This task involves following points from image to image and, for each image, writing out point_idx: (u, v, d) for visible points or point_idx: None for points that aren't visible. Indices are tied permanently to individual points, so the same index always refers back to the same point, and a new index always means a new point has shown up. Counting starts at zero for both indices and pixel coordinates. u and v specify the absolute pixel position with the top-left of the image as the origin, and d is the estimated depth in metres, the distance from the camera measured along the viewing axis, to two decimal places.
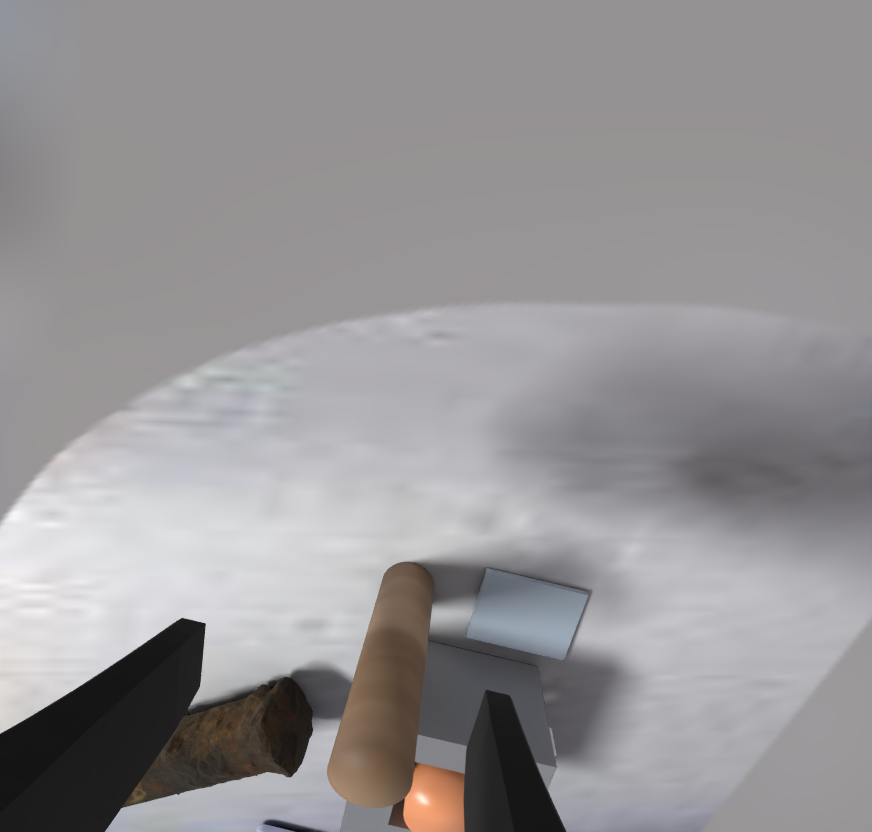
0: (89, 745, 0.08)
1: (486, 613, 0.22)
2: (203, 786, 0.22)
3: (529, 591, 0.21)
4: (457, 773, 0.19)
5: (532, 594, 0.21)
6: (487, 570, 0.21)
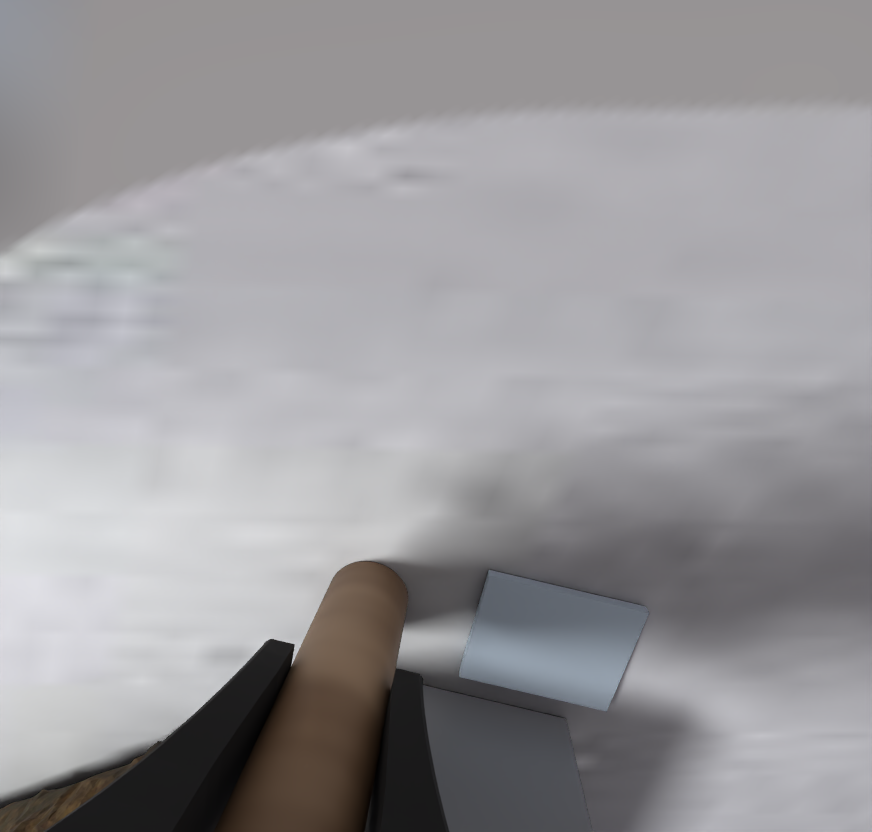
0: (215, 774, 0.08)
1: (489, 640, 0.14)
2: None
3: (556, 606, 0.13)
4: None
5: (560, 611, 0.14)
6: (490, 574, 0.13)
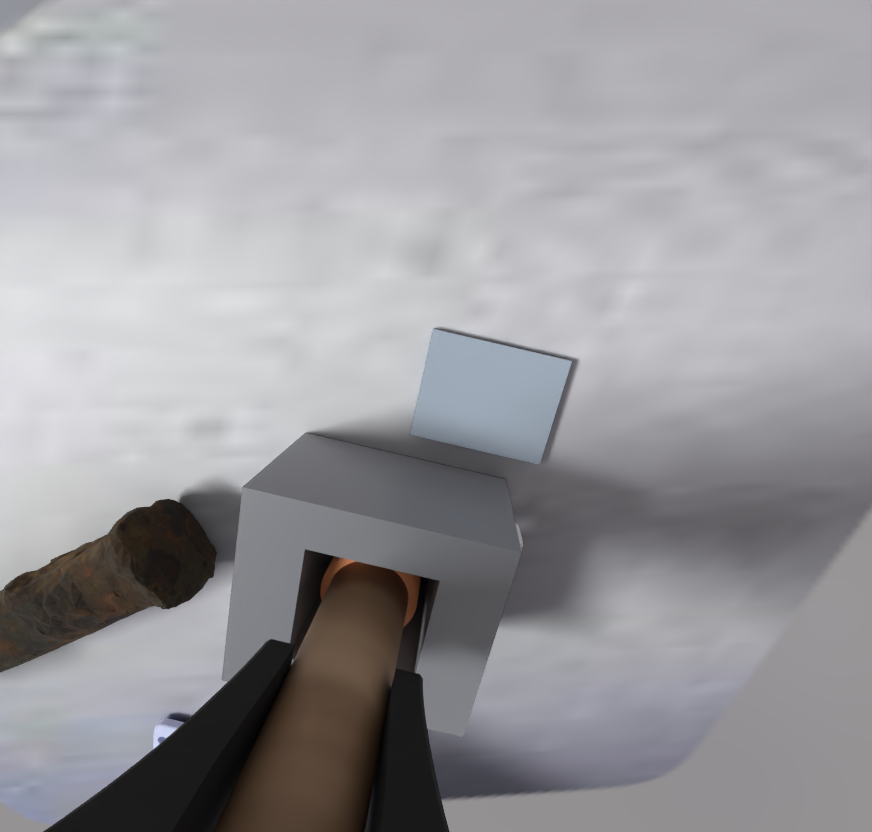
0: (214, 775, 0.07)
1: (434, 395, 0.16)
2: (58, 635, 0.16)
3: (491, 358, 0.15)
4: None
5: (495, 362, 0.16)
6: (434, 329, 0.15)
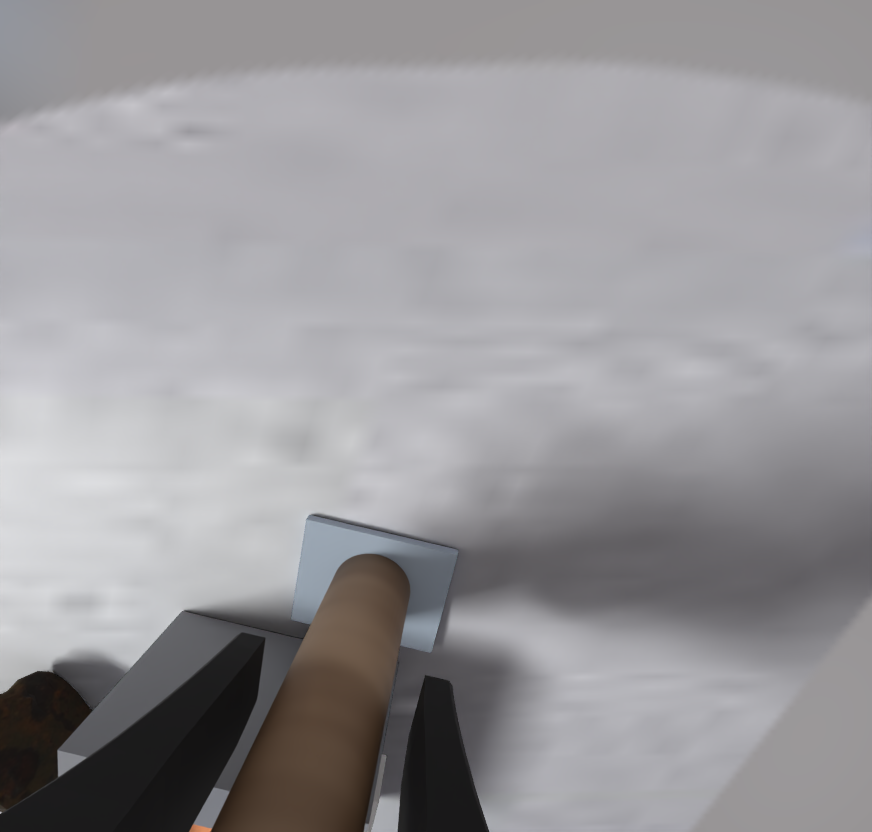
0: (174, 765, 0.08)
1: (313, 583, 0.15)
2: None
3: (371, 549, 0.14)
4: None
5: None
6: (308, 518, 0.14)
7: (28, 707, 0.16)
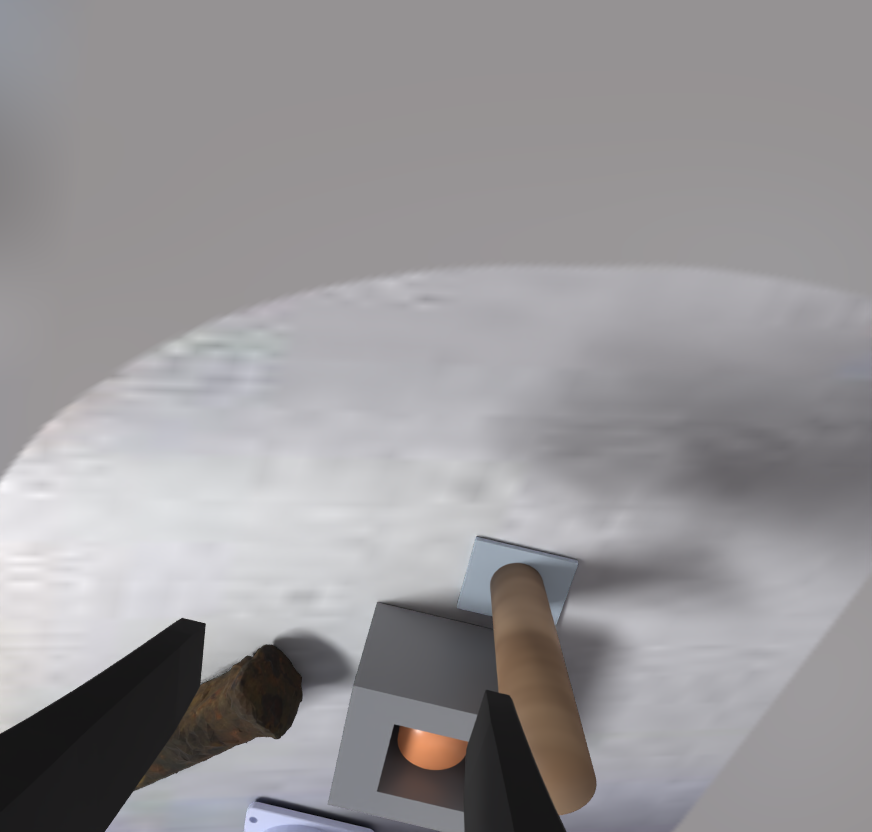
0: (89, 744, 0.08)
1: (476, 583, 0.22)
2: (197, 760, 0.22)
3: (519, 560, 0.21)
4: None
5: None
6: (477, 539, 0.21)
7: (270, 668, 0.22)
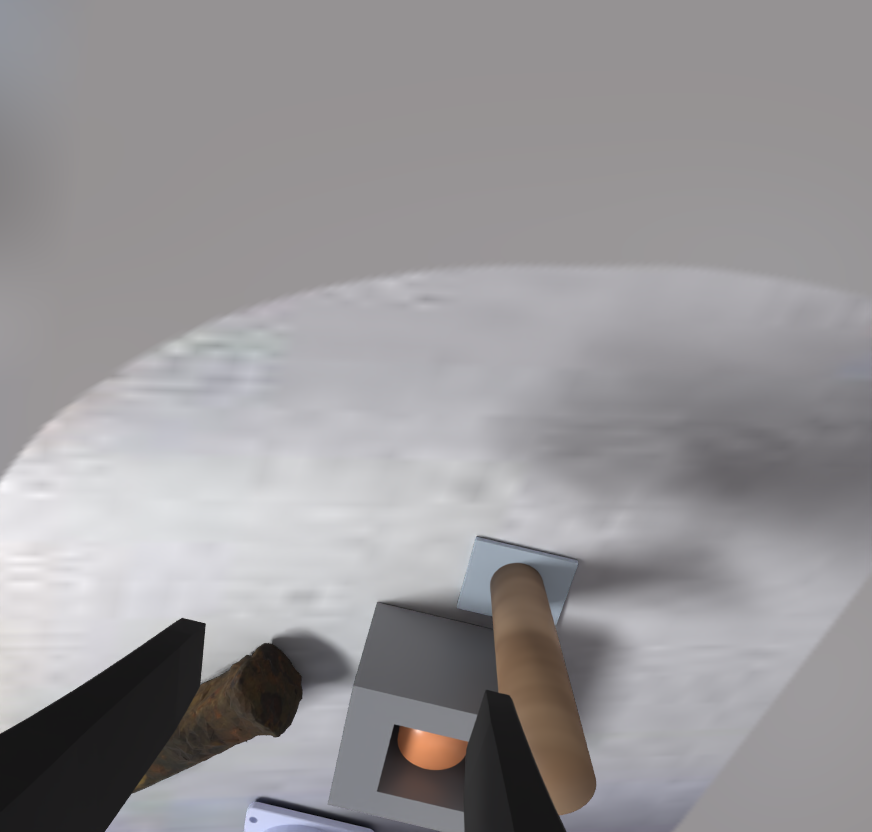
0: (89, 744, 0.08)
1: (476, 583, 0.22)
2: (197, 759, 0.22)
3: (519, 560, 0.21)
4: None
5: None
6: (477, 539, 0.21)
7: (269, 666, 0.22)
